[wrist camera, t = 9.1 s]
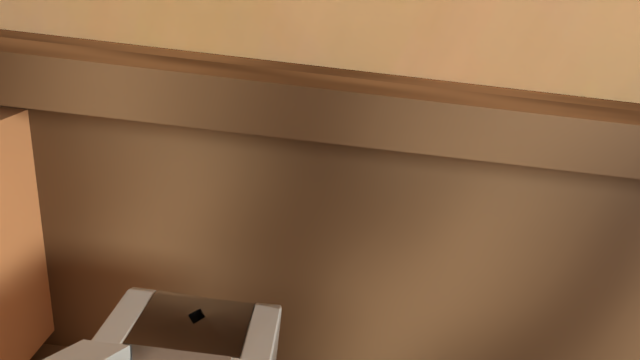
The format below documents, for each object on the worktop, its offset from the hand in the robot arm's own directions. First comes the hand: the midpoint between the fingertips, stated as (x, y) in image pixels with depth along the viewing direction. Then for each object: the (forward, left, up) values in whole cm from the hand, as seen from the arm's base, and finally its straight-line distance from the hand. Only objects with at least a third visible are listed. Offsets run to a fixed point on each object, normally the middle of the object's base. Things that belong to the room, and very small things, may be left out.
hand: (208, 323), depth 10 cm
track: (+1, 0, -3) cm, 3 cm away
